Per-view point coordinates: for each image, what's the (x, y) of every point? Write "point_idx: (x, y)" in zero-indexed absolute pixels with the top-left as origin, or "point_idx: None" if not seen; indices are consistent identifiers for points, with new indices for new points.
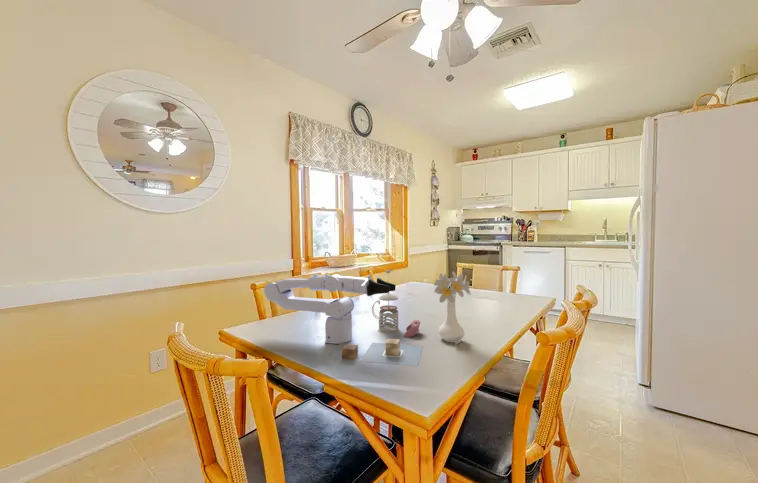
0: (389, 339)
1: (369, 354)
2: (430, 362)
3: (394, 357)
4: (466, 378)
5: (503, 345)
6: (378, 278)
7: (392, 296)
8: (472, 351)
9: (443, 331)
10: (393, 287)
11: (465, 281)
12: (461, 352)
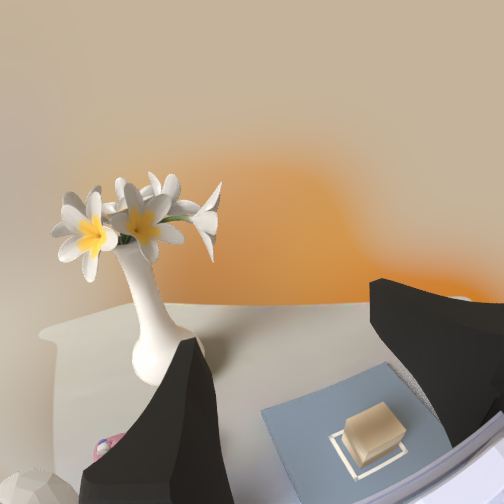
0: (372, 441)
1: None
2: (336, 365)
3: None
4: (351, 304)
5: (170, 303)
6: (151, 482)
7: (47, 492)
8: (224, 329)
9: None
10: (203, 364)
11: (119, 200)
12: (240, 342)
